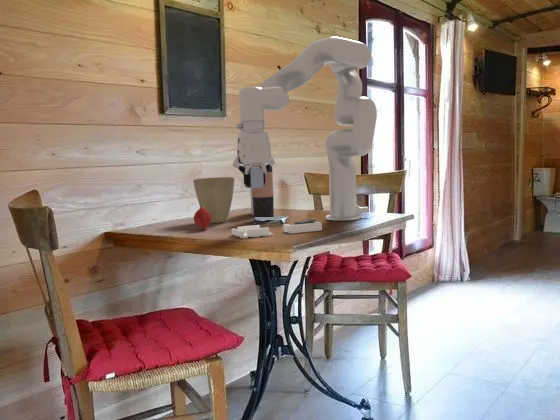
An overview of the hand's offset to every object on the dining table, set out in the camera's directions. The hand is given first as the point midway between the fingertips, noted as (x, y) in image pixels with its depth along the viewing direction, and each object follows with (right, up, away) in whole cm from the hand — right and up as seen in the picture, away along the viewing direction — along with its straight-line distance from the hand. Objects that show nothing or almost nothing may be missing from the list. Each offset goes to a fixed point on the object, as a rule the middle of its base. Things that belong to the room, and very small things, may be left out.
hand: (254, 185), depth 182 cm
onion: (-17, -14, +9) cm, 24 cm away
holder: (0, -15, -7) cm, 17 cm away
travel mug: (+2, -12, +29) cm, 31 cm away
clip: (+15, -14, -2) cm, 21 cm away
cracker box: (0, -9, +50) cm, 51 cm away
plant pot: (-15, -12, +29) cm, 35 cm away
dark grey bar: (+16, -14, +1) cm, 21 cm away
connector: (0, -1, 0) cm, 1 cm away
